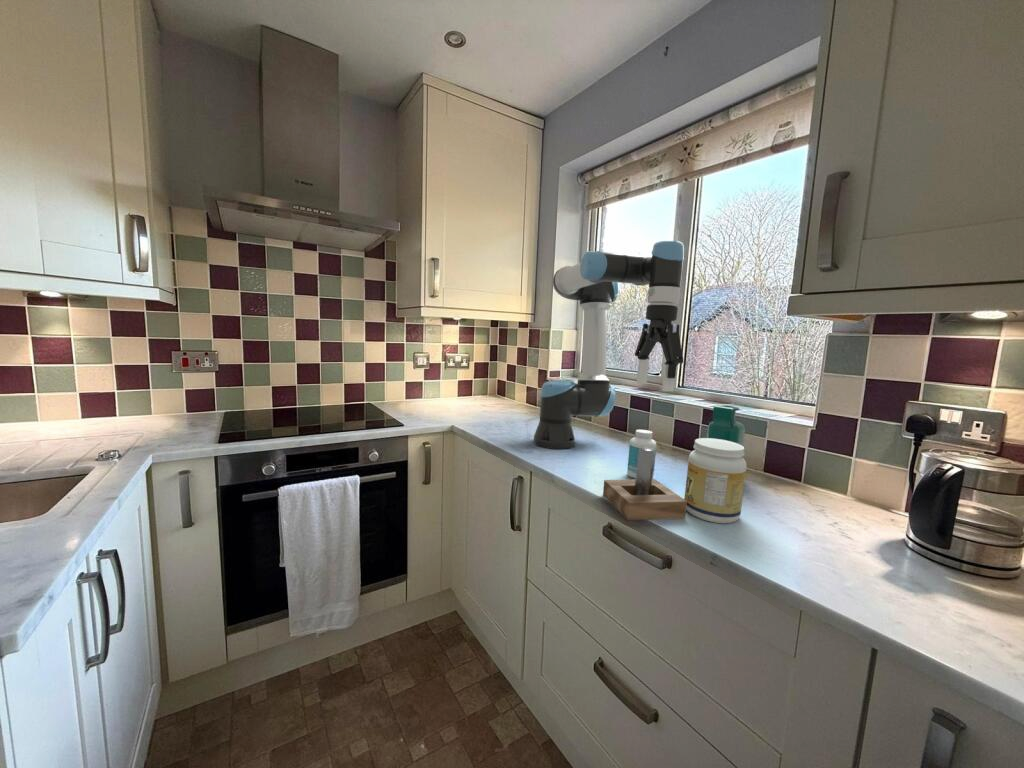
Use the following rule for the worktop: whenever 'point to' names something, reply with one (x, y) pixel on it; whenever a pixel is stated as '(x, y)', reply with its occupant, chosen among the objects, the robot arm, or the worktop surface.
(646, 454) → the pin
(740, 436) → the green bottle
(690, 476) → the supplement tub
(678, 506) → the slot block
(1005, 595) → the worktop surface
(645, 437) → the pill bottle
